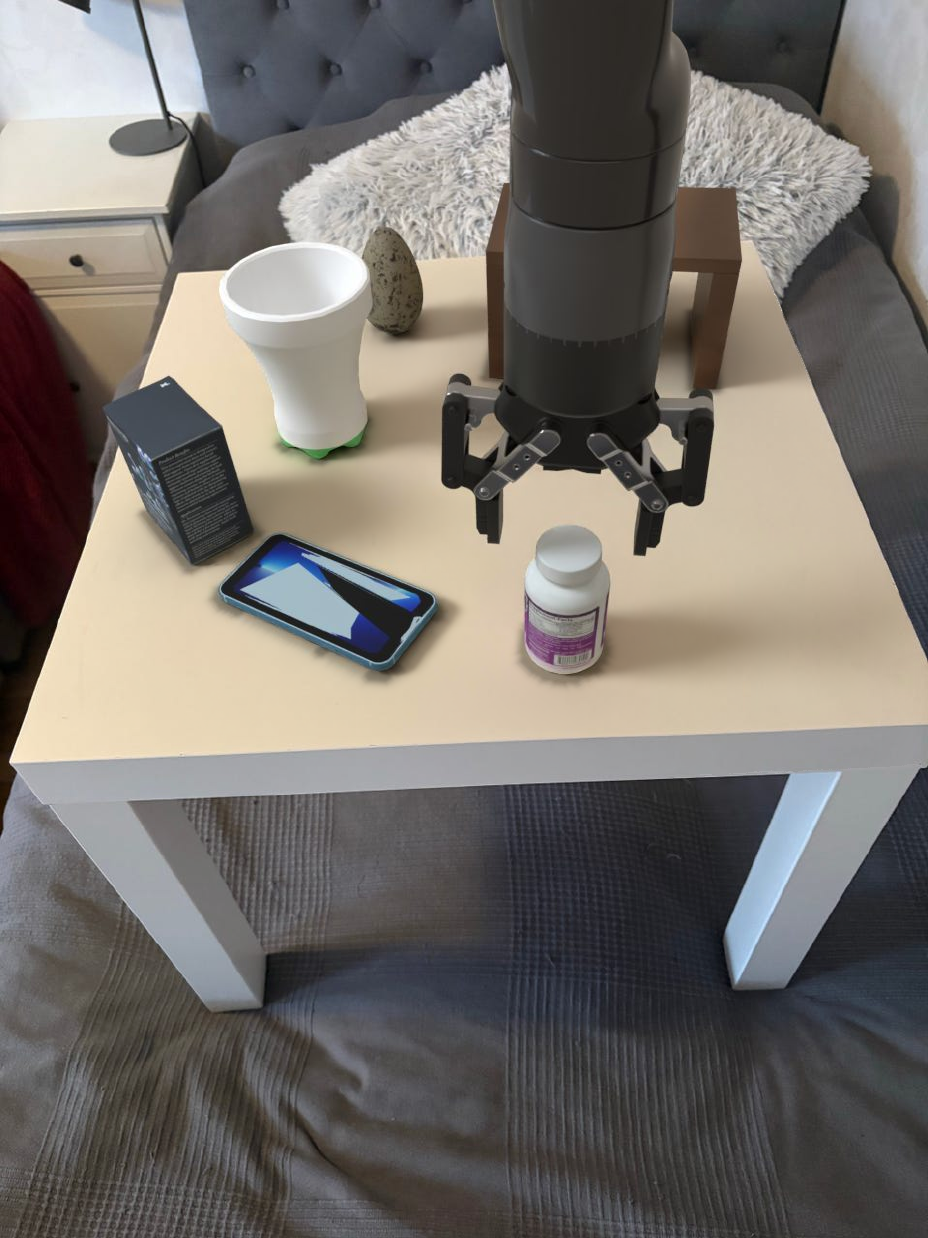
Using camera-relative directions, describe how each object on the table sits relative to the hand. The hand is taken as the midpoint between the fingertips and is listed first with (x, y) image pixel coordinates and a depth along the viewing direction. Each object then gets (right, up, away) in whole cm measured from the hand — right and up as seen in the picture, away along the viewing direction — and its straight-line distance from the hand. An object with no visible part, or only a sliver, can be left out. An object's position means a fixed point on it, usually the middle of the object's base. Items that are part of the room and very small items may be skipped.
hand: (567, 540), depth 54 cm
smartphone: (-16, -4, +11) cm, 20 cm away
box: (-27, +3, +17) cm, 32 cm away
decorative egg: (-13, +23, +34) cm, 43 cm away
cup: (-18, +11, +24) cm, 32 cm away
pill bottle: (+1, -7, +8) cm, 11 cm away
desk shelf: (+7, +21, +31) cm, 38 cm away
